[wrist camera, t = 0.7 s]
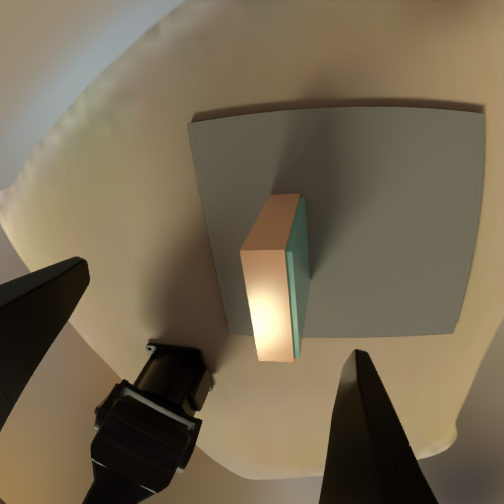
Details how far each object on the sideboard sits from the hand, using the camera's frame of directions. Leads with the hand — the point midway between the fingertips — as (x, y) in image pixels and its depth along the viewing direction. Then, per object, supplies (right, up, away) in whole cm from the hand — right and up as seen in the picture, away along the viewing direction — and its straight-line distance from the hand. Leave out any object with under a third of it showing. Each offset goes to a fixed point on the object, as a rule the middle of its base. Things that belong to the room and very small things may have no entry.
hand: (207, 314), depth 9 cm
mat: (+8, +3, +13) cm, 15 cm away
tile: (+4, +3, +13) cm, 14 cm away
